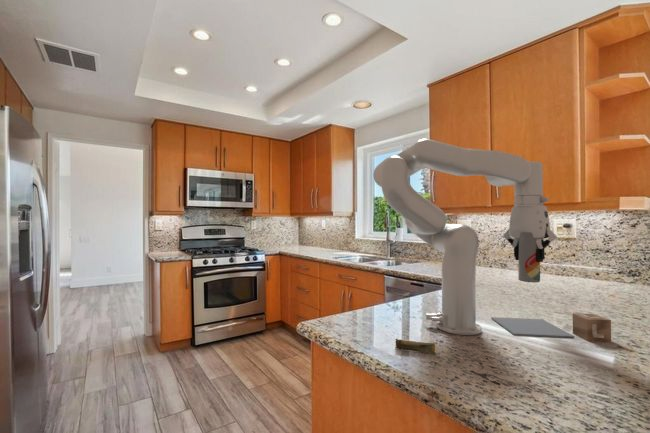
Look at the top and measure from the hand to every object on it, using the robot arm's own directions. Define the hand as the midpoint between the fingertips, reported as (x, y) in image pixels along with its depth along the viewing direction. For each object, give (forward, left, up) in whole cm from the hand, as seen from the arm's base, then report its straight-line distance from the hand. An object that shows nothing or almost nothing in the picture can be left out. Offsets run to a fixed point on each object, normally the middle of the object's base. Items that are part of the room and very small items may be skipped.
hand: (528, 260), depth 99 cm
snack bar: (-38, -24, -21) cm, 50 cm away
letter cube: (+13, -7, -21) cm, 25 cm away
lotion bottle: (0, 0, -7) cm, 7 cm away
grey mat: (0, 0, -21) cm, 21 cm away
